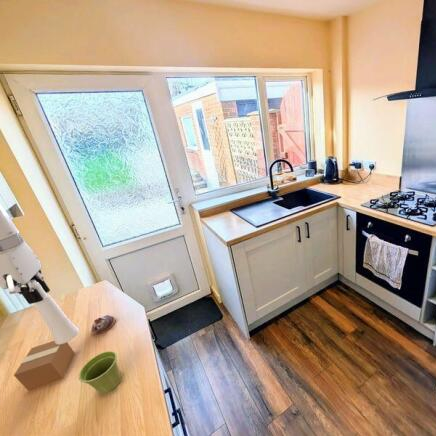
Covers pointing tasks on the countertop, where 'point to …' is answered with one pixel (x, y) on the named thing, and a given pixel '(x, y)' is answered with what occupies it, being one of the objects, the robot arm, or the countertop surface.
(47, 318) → the cosmetic bottle
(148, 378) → the countertop surface
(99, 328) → the pastry
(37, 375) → the box
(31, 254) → the robot arm
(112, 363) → the plant pot
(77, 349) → the countertop surface
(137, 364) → the countertop surface
